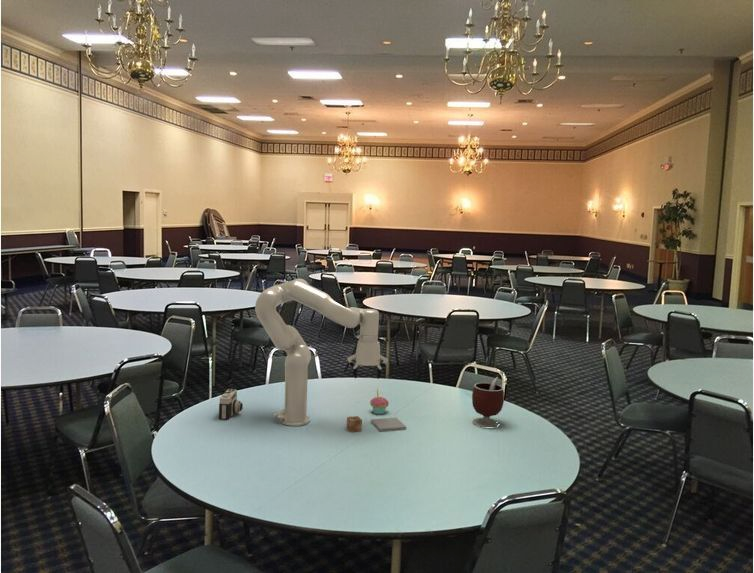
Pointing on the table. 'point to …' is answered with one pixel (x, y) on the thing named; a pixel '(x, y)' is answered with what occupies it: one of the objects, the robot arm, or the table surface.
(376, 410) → the cupcake
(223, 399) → the camera
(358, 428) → the walnut cube
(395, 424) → the slate coaster
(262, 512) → the table surface
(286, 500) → the table surface
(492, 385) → the mate gourd
